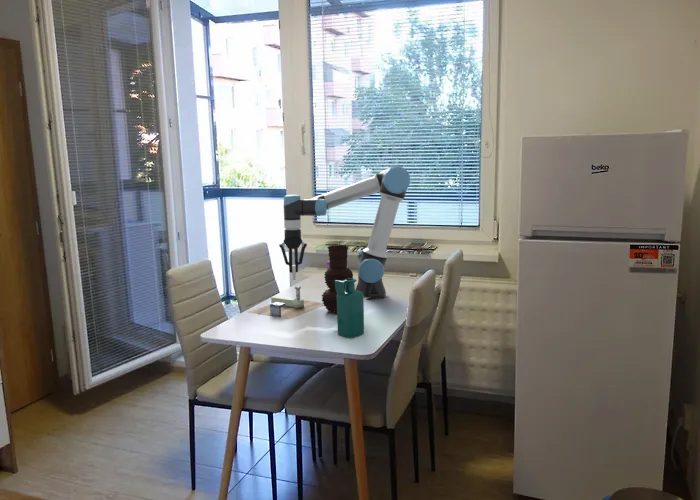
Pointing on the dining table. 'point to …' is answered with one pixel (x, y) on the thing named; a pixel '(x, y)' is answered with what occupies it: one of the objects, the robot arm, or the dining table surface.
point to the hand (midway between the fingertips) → (293, 279)
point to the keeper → (276, 309)
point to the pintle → (297, 292)
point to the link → (288, 301)
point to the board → (289, 309)
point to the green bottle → (349, 309)
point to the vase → (335, 275)
